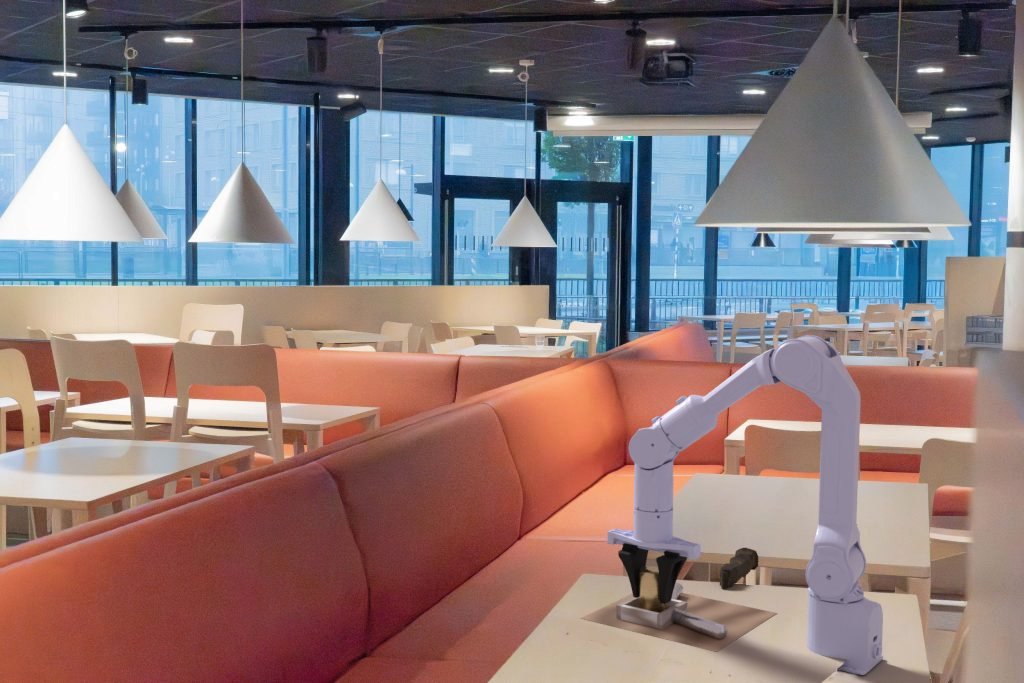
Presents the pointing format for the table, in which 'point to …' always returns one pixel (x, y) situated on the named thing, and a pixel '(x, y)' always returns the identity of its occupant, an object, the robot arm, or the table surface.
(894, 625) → the table surface
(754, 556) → the hand tool
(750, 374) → the robot arm
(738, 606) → the plate
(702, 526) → the table surface
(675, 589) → the shaft
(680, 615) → the shaft
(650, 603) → the brass cylinder
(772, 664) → the table surface
